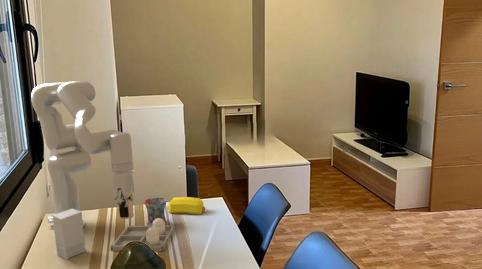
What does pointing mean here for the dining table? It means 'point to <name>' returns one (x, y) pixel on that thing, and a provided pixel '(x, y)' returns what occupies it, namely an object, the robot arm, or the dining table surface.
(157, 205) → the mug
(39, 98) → the robot arm
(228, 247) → the dining table surface
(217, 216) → the dining table surface
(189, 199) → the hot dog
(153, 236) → the far egg
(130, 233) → the carton
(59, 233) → the skincare box
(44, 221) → the dining table surface
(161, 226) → the egg
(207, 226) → the dining table surface
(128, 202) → the egg
